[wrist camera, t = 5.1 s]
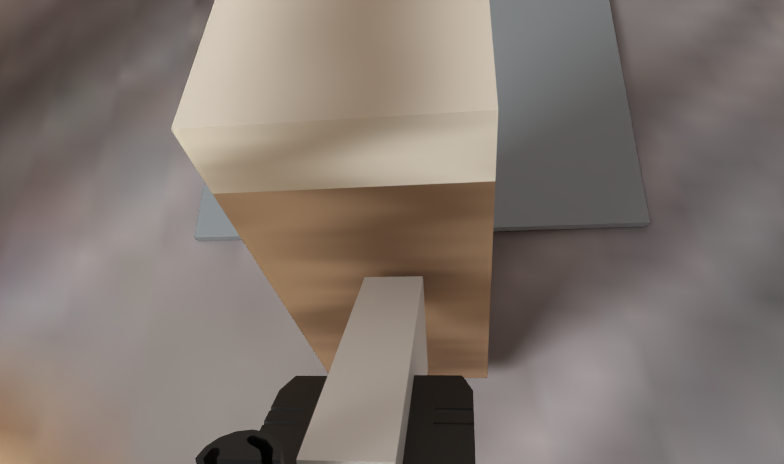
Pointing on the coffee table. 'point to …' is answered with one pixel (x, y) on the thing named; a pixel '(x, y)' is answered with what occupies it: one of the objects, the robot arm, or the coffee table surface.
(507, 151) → the mat
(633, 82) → the coffee table surface
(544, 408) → the coffee table surface
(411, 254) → the block
